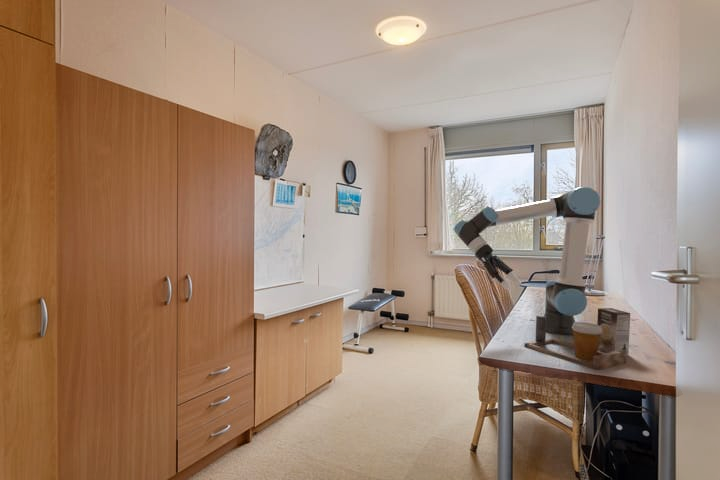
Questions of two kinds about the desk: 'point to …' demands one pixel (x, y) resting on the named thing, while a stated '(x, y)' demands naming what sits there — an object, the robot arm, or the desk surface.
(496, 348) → the desk surface
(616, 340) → the coffee box
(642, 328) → the desk surface
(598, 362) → the frame
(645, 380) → the desk surface
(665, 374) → the desk surface
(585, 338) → the disposable coffee cup
